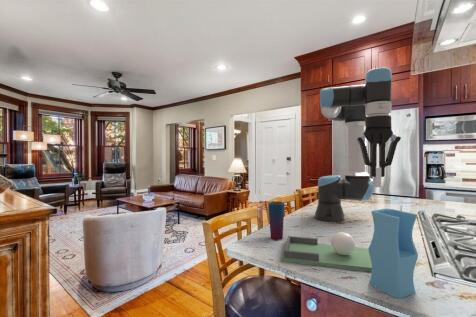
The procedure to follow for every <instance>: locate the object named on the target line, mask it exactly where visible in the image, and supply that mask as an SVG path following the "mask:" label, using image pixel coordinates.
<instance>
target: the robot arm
mask: <svg viewBox="0 0 476 317" xmlns="http://www.w3.org/2000/svg"><path fill="white" fill-rule="evenodd" d="M392 75H393V74H392V69H391V68H390V67H375V68H371V69H370V70H368V71H366V73H365V79H364V81H365V83H364V84H354V85H346V86H336V87H334V86H332V87H330V86H329V87H326V88H321V89H320V91H319V106H320V111H321V115H322V116H323V117H324V118H326V119H328V120H331V121H334V122H344V125H345V126H346V127H347V170H348V171H347V172H346V173H345V174H344V177H342V176H341V175H340V174H334V175H332V174H331V175H326V176H325V175H323V176H320V177H319V178H318V181H317V187H318V188H317V190H318V192H317V194H318V195H317V200H318V203H317V207H316V211H315V212H314V218H315V219H317V220H318V221H319V220H320V221H324V222H342V221H344V220H345V213H344V210H343V207H342V201H345V200H346V201H359V202H361V201H369V200H370V199H371V198H372V196H373V192H374V187H375V188H382V178H384V177H385V172H386V170H385V169H386V167H389V166H392V163H393V160H394V156H395V153H396V149H397V146H398V144H399V142H400V141H401V139H402V137H401V136H397V135H395V134H394V131H393V130H392V116H391V114H392V94H393V93H392V86H393V84H392V82H393V76H392ZM389 140H390V144H389V147H388V151H387V154H386V146H387V142H389ZM367 141H368V142H369V148H370V154H368V150H367V149H368V148H367ZM377 147H378V149H377ZM377 150H378V166H377ZM369 155H370V157H369ZM367 166H368V167H370V174H369V173H368V172H367ZM370 176H371V177H372V178H371V177H370Z"/></svg>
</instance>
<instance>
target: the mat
mask: <svg viewBox="0 0 476 317" xmlns="http://www.w3.org/2000/svg"><path fill="white" fill-rule="evenodd" d="M286 242H287V240H285V242H284V246H283V249H282V253H281V256H280V262H282V263H283V262H286V263H291V264H292V263H295V264H303V265H311V266H319V267H328V268H337V269H343V270H353V271H361V272H362V271H363V272H370V273H372V263H371V258H370V255H369V247H359V246H358V247H357V246H355V249H354V251H353V252H352V253H351V254H349V255H340V254H338V253H336V252H335V251H334V249H333V248H332V245H331V244H328V243H327V244H326V243H318V245H312V244H301V243H290V247H289V250H292V251H302V252H311V253H319V261H312V260H303V259H294V258H285V257H284V250H285V246H286Z"/></svg>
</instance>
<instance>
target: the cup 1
mask: <svg viewBox="0 0 476 317" xmlns="http://www.w3.org/2000/svg"><path fill="white" fill-rule="evenodd" d="M267 207H268V215H269V216H268V219H269V232H270V239H271V240H274V241H282V240H283V237H284V236H283V235H284V221H285V220H284V218H285V202H283V201H268V205H267Z"/></svg>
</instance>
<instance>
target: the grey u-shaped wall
mask: <svg viewBox="0 0 476 317" xmlns="http://www.w3.org/2000/svg"><path fill="white" fill-rule="evenodd" d="M286 241H287V242H286V246H285V250H284V257H285V258H294V259H303V260H312V261H319V253H311V252H302V251H292V250H289V247H290V243H301V244H312V245H318V244H319V243H318V242H319V241H318V237H309V236H308V237H307V236H306V237H305V236H295V235H288V236H287V238H286Z"/></svg>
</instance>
